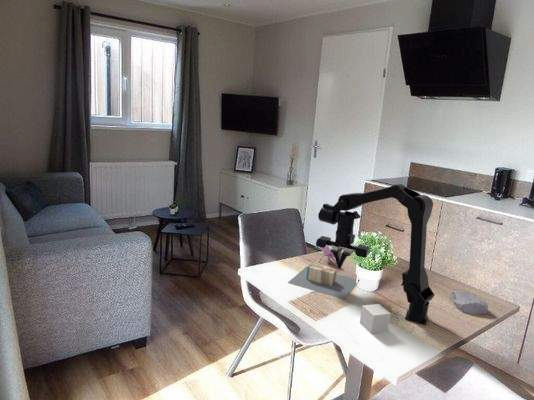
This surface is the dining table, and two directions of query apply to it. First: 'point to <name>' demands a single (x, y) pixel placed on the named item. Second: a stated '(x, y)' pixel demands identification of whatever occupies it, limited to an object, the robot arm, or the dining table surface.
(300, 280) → the rubber mat
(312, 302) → the dining table surface
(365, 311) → the light grey cube
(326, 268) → the maple block
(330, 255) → the lily
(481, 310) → the stone block
